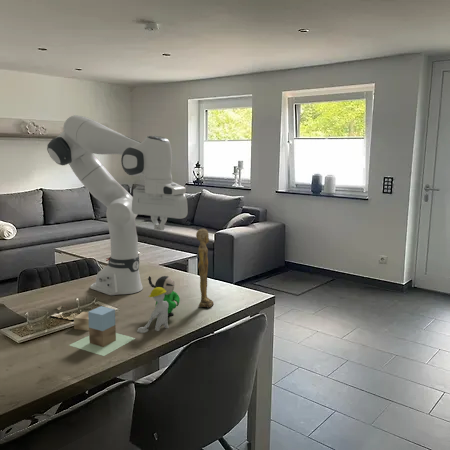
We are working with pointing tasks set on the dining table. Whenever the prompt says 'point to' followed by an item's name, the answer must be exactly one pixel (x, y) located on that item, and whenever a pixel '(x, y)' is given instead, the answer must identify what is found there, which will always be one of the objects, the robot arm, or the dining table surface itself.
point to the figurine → (158, 310)
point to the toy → (167, 292)
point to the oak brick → (81, 321)
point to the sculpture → (203, 266)
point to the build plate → (99, 350)
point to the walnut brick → (102, 336)
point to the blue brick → (101, 318)
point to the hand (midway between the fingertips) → (159, 229)
